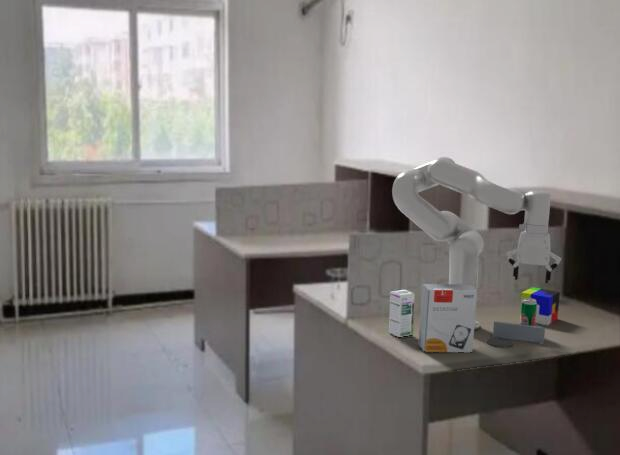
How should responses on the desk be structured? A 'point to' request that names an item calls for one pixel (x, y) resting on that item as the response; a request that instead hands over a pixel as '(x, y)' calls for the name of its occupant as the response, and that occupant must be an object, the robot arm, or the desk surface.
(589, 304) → the desk surface
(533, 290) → the puzzle toy
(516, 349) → the desk surface
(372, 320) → the desk surface
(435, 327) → the hard drive box
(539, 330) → the divider
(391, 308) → the syrup box
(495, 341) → the coaster
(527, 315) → the soda can
